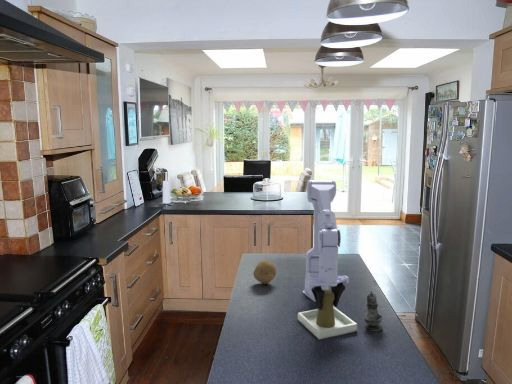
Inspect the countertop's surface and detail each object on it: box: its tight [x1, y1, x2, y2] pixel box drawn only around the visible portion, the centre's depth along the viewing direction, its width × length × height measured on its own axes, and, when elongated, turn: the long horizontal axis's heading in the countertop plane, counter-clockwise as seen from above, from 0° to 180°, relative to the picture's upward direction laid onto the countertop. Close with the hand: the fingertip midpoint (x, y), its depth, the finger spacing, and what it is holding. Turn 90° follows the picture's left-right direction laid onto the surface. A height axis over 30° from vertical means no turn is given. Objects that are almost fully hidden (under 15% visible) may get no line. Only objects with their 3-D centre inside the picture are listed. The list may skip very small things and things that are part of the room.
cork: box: [316, 289, 335, 328], centre depth 128 cm, size 6×6×11 cm
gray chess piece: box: [363, 290, 383, 332], centre depth 126 cm, size 6×6×12 cm
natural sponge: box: [252, 259, 277, 285], centre depth 161 cm, size 9×9×10 cm
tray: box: [297, 306, 358, 340], centre depth 129 cm, size 14×14×2 cm
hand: (326, 307), depth 128 cm, fingers closed on cork, 5 cm apart
